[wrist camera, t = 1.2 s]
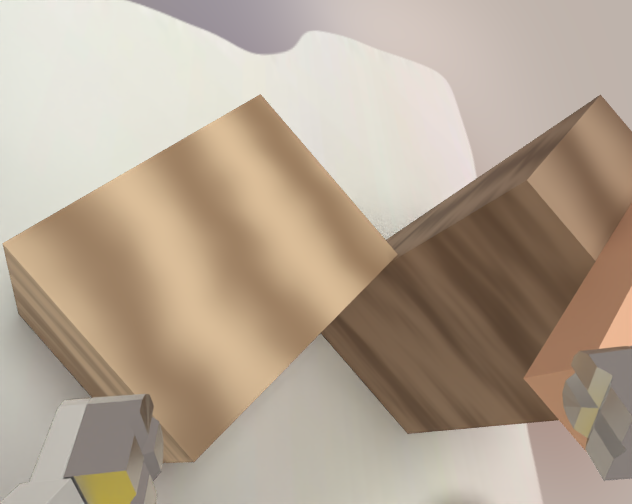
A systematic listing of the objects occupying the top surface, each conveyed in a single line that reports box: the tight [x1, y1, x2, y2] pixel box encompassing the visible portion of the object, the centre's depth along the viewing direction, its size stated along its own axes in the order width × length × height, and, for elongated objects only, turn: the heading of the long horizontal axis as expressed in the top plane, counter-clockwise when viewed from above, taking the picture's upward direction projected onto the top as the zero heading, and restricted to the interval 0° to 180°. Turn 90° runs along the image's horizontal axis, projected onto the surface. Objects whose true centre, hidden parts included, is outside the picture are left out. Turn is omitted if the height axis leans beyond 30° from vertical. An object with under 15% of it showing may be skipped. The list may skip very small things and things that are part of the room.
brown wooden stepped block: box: [3, 94, 632, 463], centre depth 34 cm, size 27×28×26 cm
